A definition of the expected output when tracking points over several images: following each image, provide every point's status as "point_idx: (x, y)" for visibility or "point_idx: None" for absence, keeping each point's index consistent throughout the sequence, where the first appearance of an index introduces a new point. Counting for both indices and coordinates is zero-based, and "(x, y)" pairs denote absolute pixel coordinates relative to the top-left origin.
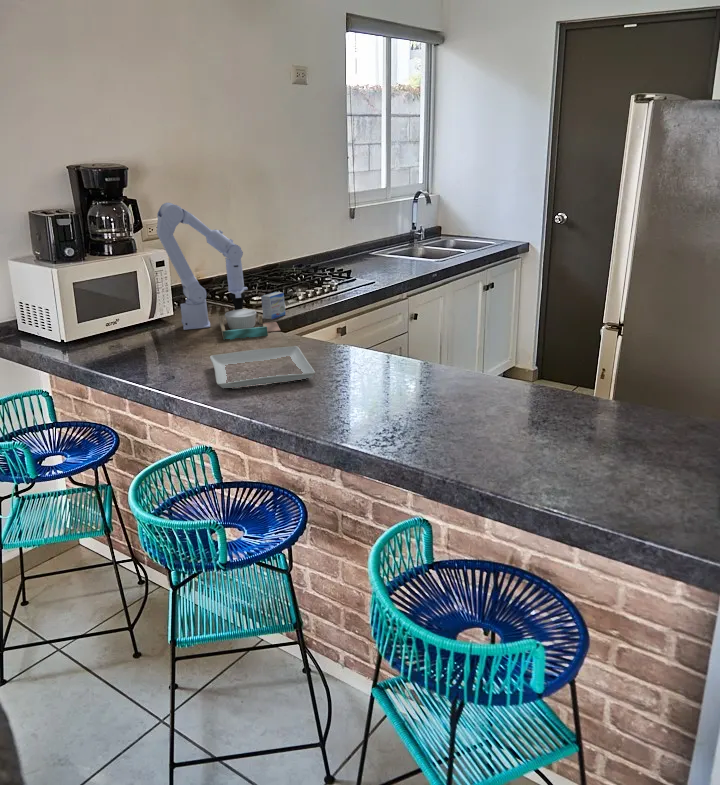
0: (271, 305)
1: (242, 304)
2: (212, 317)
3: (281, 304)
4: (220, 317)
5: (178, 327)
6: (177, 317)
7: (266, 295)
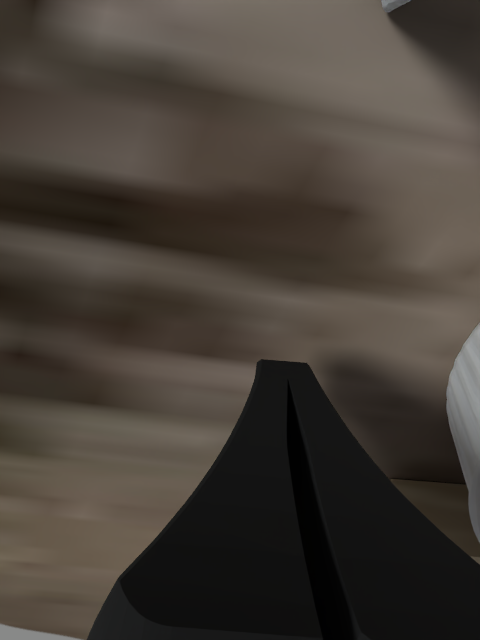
0: None
1: (368, 456)
2: (86, 499)
3: None
4: None
5: None
6: (28, 620)
7: None
